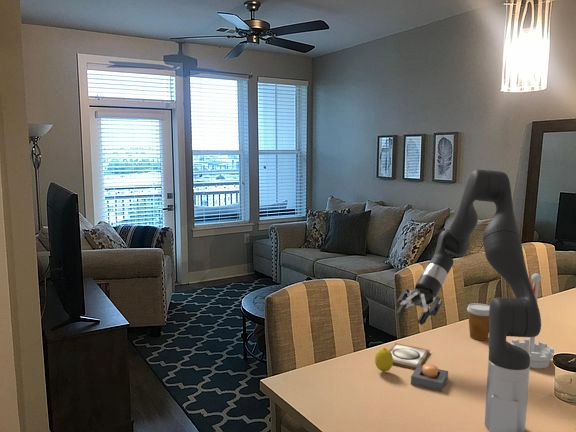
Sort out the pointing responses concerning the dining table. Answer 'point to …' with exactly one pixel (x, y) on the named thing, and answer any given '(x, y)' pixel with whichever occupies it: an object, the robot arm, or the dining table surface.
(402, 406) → the dining table surface
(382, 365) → the lemon
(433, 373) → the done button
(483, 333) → the disposable coffee cup
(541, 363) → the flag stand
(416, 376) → the button housing
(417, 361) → the drawing board
